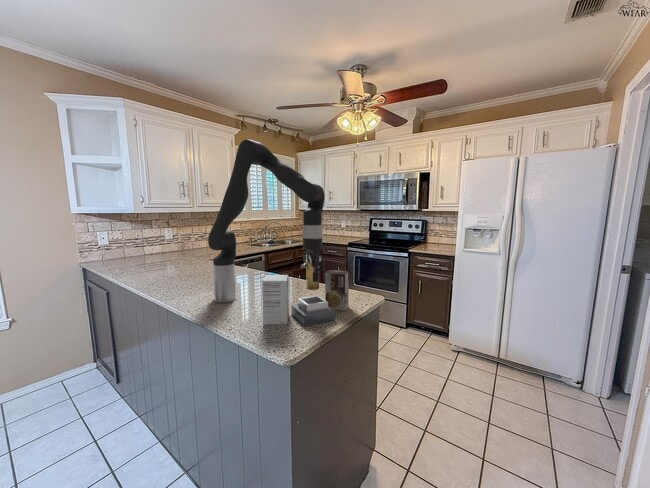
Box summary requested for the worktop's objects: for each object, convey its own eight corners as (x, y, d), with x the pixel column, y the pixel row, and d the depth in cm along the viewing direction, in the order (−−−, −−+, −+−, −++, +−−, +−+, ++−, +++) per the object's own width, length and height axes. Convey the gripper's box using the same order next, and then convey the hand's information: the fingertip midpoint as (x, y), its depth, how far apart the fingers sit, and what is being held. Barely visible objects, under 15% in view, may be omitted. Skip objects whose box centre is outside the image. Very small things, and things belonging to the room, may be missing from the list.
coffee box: (348, 306, 121) (349, 270, 119) (345, 311, 115) (345, 274, 113) (329, 304, 124) (329, 269, 122) (324, 308, 117) (324, 272, 116)
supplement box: (266, 315, 110) (265, 274, 108) (289, 314, 111) (288, 274, 109) (262, 325, 100) (261, 280, 98) (287, 324, 101) (287, 280, 99)
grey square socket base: (304, 326, 100) (303, 307, 99) (291, 314, 111) (291, 297, 110) (334, 320, 105) (335, 302, 105) (320, 309, 117) (320, 293, 116)
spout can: (321, 289, 106) (321, 263, 105) (304, 291, 102) (304, 265, 101) (315, 285, 110) (315, 261, 109) (299, 288, 107) (299, 263, 106)
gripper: (296, 235, 109) (296, 277, 111) (311, 238, 96) (311, 285, 98) (313, 234, 112) (313, 275, 114) (330, 237, 100) (329, 283, 102)
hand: (312, 279), depth 106 cm, fingers closed on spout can, 5 cm apart
